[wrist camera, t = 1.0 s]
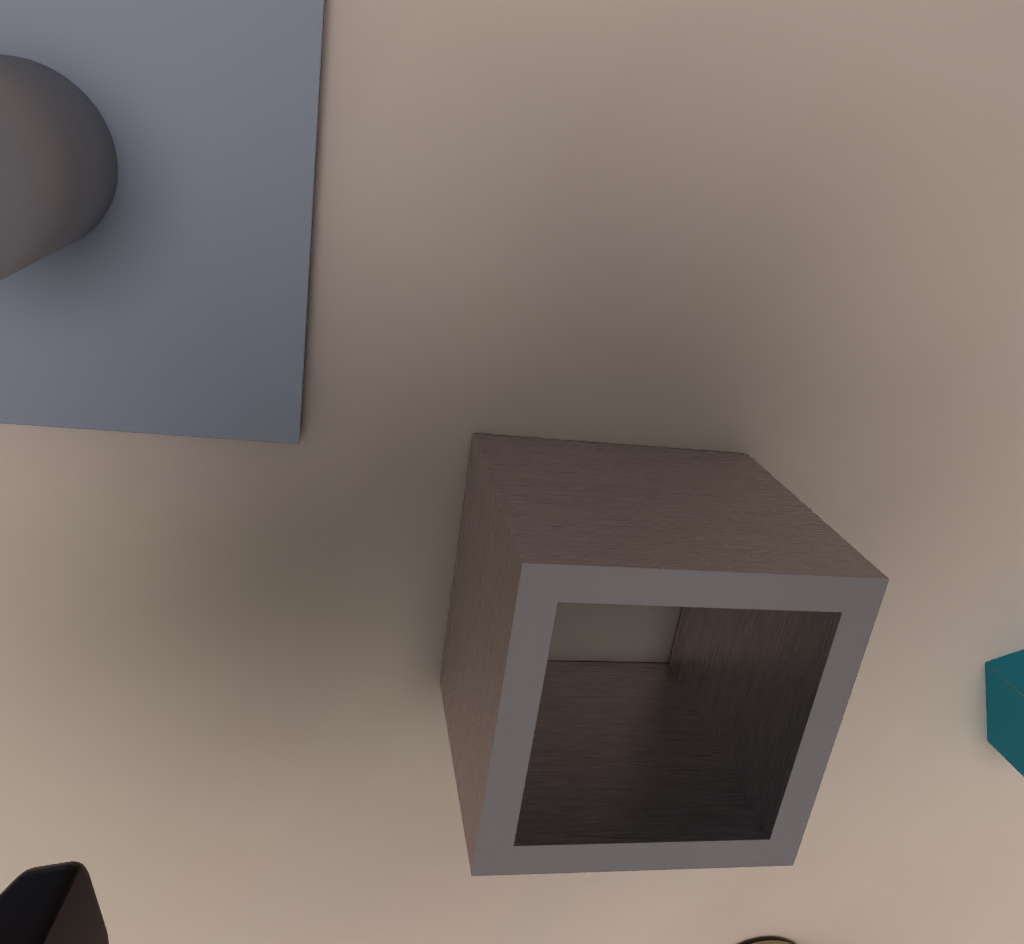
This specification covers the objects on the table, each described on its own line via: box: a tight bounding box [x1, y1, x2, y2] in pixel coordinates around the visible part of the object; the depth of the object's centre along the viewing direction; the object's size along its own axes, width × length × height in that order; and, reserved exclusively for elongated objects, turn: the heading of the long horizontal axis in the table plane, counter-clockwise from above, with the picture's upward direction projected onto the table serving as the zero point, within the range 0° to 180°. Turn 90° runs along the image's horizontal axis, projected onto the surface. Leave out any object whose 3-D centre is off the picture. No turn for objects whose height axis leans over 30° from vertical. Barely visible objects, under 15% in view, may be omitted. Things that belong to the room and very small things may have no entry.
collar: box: [440, 433, 889, 876], centre depth 19 cm, size 7×7×6 cm
